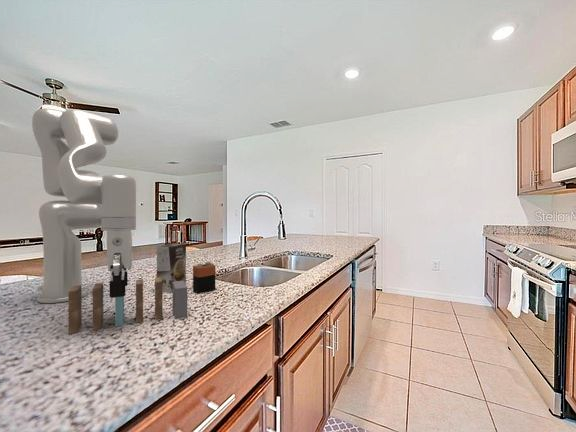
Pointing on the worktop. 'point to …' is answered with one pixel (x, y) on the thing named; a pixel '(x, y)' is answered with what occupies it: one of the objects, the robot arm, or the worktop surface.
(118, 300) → the domino
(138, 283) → the domino
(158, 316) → the domino
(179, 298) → the block
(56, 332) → the worktop surface
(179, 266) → the coffee box
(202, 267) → the battery
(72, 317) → the domino
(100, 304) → the domino
